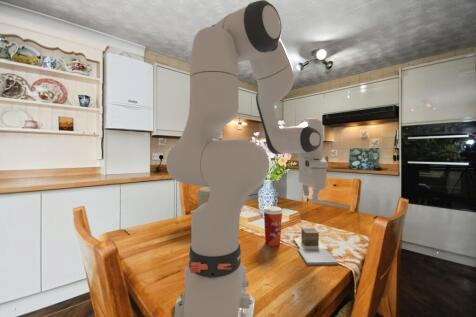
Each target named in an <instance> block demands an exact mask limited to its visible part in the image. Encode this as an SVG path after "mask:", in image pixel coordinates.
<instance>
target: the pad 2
mask: <svg viewBox="0 0 476 317" xmlns="http://www.w3.org/2000/svg"><path fill="white" fill-rule="evenodd" d="M297 252H298V253H299V255H300V257H302V259H303V261H304V262H305V264H306V265H307V266H318V265H319V266H320V265H321V266H323V265H324V266H325V265H329V266H331V265H334V266H335V265H339V261H337V259H336V258H335V257H334V256H333V255H332V254H331V253H330V252H329V250H328V251H327V250H326V249H299V248H297Z"/></svg>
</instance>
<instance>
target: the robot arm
mask: <svg viewBox="0 0 476 317" xmlns="http://www.w3.org/2000/svg"><path fill="white" fill-rule="evenodd" d="M282 28H283V27H282V21H281V17H280V14H279V13H278V10H277V8H276V7H275V6H274V5H273V4H272V3H270V2H269V1H267V0H255V1H253V2H250V3H248V5H247V6H245V7H242V8H239V9H237V10H236V11H234V12H232V13H229V14H227V15H226V16H224V17H223V18H222V19H220V20H219V21H217V22H216V23H215V24H212V25H211V26H207V27H204V28H201V29H200V30H199V31H197V33H196V34H195V36H194V39H193V42H192V47H191V48H192V49H191V53H190V54H191V55H190V65H189V66H190V67H189V106H188V107H189V108H188V115H187V116H188V117H187V121H186V123H185V127H184V129H183V131H182V134H181V135H180V138H179V140H178V141H177V142H176V143H175V144H174V145H173V146H171V148H170V149H169V151H168V153H167V155H166V158H165V159H166V162H165V165H166V170H167V174H168V176H170V178H171V179H173V180H175V181H177V182H180V183H182V184H185V185H188V186H194V187H210V196H209V200H208V202H206V203H204V204H202V205H201V206H199V205H198V207H196V209H195V210H194V211H193V213H192V216H191V220H190V221H191V222H190V223H191V224H190V228H191V229H190V230H191V233H190V234H191V235H190V236H191V237H190V238H191V244H190V247H189V252H188V266H186V267H185V268H184V292H183V291H182V292H180V297H178V298H177V299H176V300H175V304H174V316H173V317H255V308H256V299H255V297H253V296H252V295H249V293H248V290H247V288H249V280H247V268H246V267H245V265H243V264H242V263H241V261H242V260H241V256H242V250H241V244H240V243H239V242H240V241H239V239H240V238H239V236H240V234H239V233H240V219H241V212H242V210H243V206H244V204H245V202H246V200H247V199H248V198H249V196H250V195H251V194H252V193H253V192H254V191H255V190H257V189H258V188H259V187H260V186H262V184H263V183H264V182H265V180H266V179H267V177H268V175H269V170H270V160H269V156H268V154H267V151H266V149H265V148H264V147H263V146H262V145H261V144H260V143H257V142H253V141H248V140H243V139H221V140H220V137H221V133H222V131H223V129H224V128H225V126H226V125H227V124H229V123H230V122H232V121H233V120H234V119H235V118H236V117H237V114H238V113H239V66H238V63H240V62H244V61H249V64H250V68H251V70H252V73H253V76H254V78H255V81H256V82H257V93H256V95H255V102H256V106H257V111H258V114H259V118H260V121H261V122H260V123H261V125H262V128H263V131H264V136H265V144H266V147H267V149H268V150H269V151H270V153H272V154H273V155H283V154H298V166H299V168H298V182H299V183H300V184H301V185H302V191H303V196H306V197H307V196H308V197H309V196H310V191H309V188H311V189H312V195H311V200H312V201H313V202H318V200H319V195H320V192H321V190H322V191H323V190H326V187H327V178H328V177H327V174H328V172H327V169H328V167H329V163H328V161H327V159H325V158H324V152H323V146H324V130H323V124H322V121H321V120H320V119H318V118H313V117H312V118H311V117H310V118H309V117H307V118H303V119H302V120H301V121H300V124H298V125H296V126H287V127H285V126H284V127H283V126H280V125H279V124H278V123H279V122H278V119H277V116H276V111H275V105H276V104H277V103H278V102H279V101H281V100H282V99H283V98H284V97H286V96H287V95H288V94H289V93H290V91H291V90H292V88H293V86H294V83H295V71H294V69H293V66H292V62H291V59H290V57H289V55H288V52H287V50H286V48H285V46H284V43H283V42H282V40H281V37H282Z"/></svg>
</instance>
